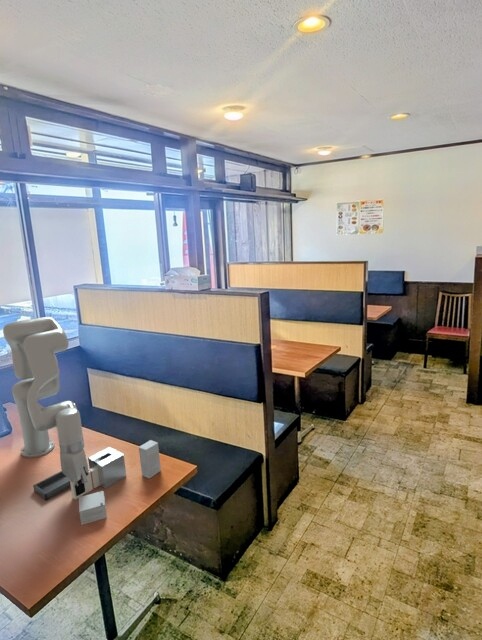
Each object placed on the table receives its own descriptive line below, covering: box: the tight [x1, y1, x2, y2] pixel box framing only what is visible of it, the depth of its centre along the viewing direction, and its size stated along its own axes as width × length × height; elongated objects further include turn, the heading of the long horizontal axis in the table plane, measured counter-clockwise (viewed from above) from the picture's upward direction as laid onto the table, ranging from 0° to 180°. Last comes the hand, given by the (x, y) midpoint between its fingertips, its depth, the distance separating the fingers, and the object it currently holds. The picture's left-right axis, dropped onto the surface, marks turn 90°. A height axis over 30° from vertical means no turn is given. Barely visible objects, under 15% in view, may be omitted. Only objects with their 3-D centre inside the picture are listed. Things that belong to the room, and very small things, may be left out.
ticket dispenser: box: [87, 446, 127, 489], centre depth 144 cm, size 9×9×9 cm
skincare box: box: [138, 439, 162, 480], centre depth 146 cm, size 6×4×12 cm
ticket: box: [70, 466, 100, 500], centre depth 139 cm, size 2×13×7 cm, turn 142°
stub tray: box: [33, 470, 71, 501], centre depth 143 cm, size 8×16×2 cm, turn 142°
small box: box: [78, 490, 107, 526], centre depth 127 cm, size 8×8×5 cm
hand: (79, 492), depth 136 cm, fingers closed on ticket, 1 cm apart
